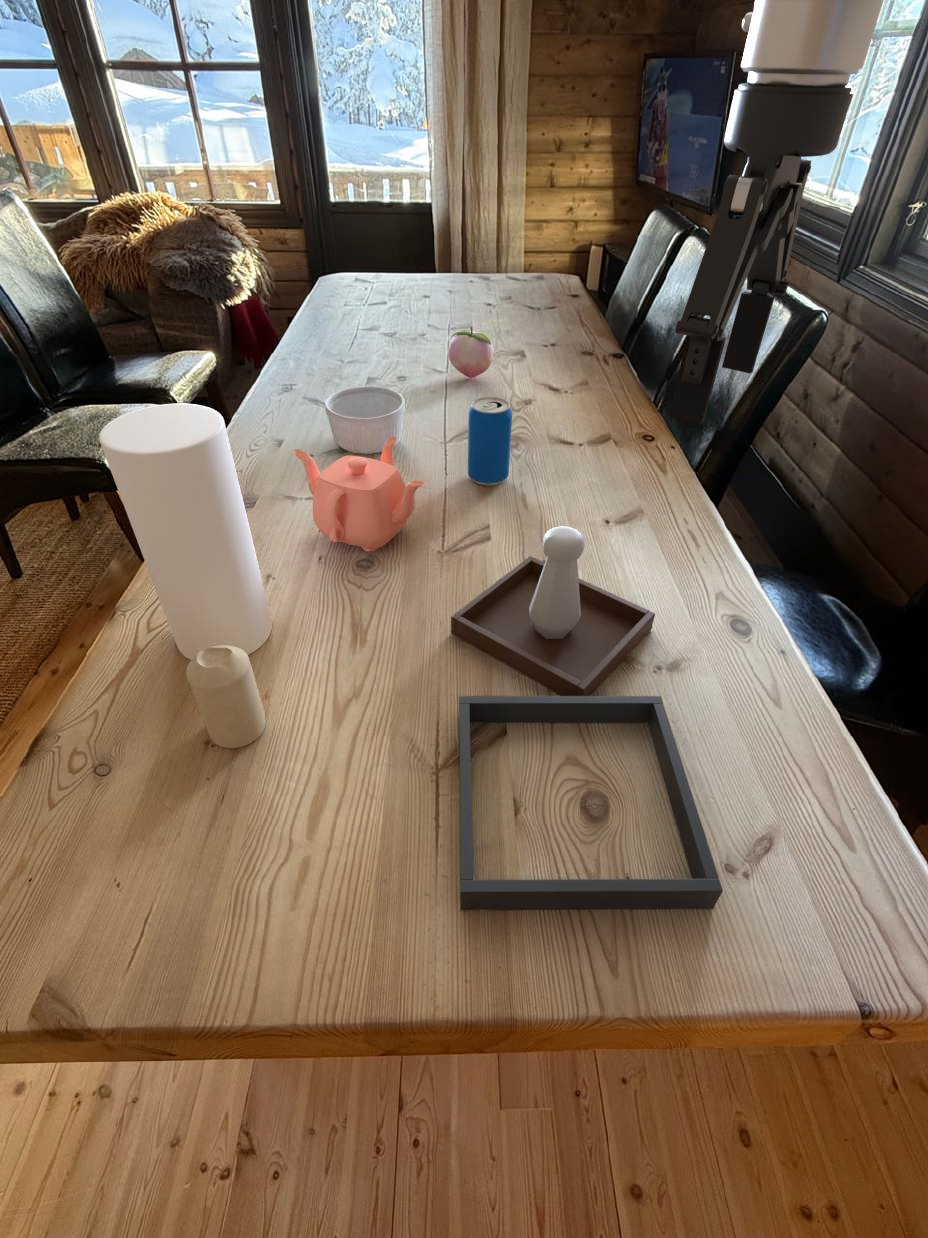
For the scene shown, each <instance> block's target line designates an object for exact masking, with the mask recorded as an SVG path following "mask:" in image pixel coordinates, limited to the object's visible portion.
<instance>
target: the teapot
mask: <svg viewBox="0 0 928 1238" xmlns="http://www.w3.org/2000/svg"><path fill="white" fill-rule="evenodd" d="M395 443H396V437H391V438H390V439H388V440H387V442H386V443H385V445H384V448H383V451H382V452H381V455H380V458H379V460H378V459H375V458H372V457H371V458H370V457H365V456H359V455H343V456H341V457H340V458H339V459H338V458H337V460H334V462H332V463H331V464H330V465H329V466H327V467H326V468H325V469H323V471H321V472H320V470H319V468H318V466H317V464H316V462H315V460H314V458H312V456H311V455H310V454H309V453H307V452H305V451H303V450H301V449H300V450H299V449H293V451H292V452H293V454H294V455H295V456H296V457H297V458H298V459H299V460H300V461H301V463H302V464H303V467H304V469H305V473H306V479H307V484H308V488H309V491H310V493H311V495H312V496H313V497H312V518H313V522H314V525H315V526H316V527H317V529H318V531H320V533H322V535H325V536H326V537H329V538H328V539H329V540H330V541H331V542H333V543H340V542H341V543H342V544H343V543H344V544H347V545H351V546H354V547H355V546H356V547H362V550H363V551H365V552H375V551H377V550H378V549H379V548H381V547H383V546H385V545H386V544H387V543H389V542H390V541H391V540H392V539H393V538H394V537H396V536H397V534H398V533H399V532H400V531H401V530H402V529H403V528H404V526H405V525H406V524H407V523H408V520H409V519H410V517H411V515H412V514H413V512H414V508H415V495H416V491H417V490H418V488H420V487H422V486H424V485H426V482H425V481H423V480H413V481H410V482H408V483H407V484H405V481H404V479H403V477H402V475H401V473H400V471H399V468H398V467H396V466H395V464H394V463H395V462H394V449H395V446H396V445H395ZM394 445H395V446H394Z"/></svg>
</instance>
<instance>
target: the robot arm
mask: <svg viewBox="0 0 928 1238" xmlns="http://www.w3.org/2000/svg"><path fill="white" fill-rule="evenodd" d="M884 1H885V0H754V5H753V11H750V12H747V13H746V14H745V15H744V17H743V19H742V22H741V29H742V31H743V32H746V33H748V34H747V38H746V40H745V45H744V50H743V54H742V55H743V56H742V59H741V63H740V68H741V70H742V71H743V73H748V74H747V80H746V82H745V83H743V82H742V83H739V84H738V88H735V89H734V92H733V96H732V101H731V106H730V111H729V116H728V120H727V124H726V129H725V133H724V138H723V143H724V144H723V145H724V146H725V148H726V149H727V150H729V151H731V152H736V153H745V154H746V155H747V160H746V161H747V162H746V164H745V166H744V169H743V172H742V175H739V174H738V175H737V174H729V175H728V176H727V178H726V180H725V181H724V184H723V191H722V194H721V198H720V202H719V206H718V210H717V214H716V216H715V220H714V223H713V226H712V229H711V232H710V235H709V237H708V240H707V243H706V246H705V249H704V252H703V255H702V257H701V261H700V264H699V266H698V268H697V272H696V276H695V278H694V280H693V283H692V286H691V288H690V289H691V290H690V292H689V296H688V299H687V302H686V305H685V307H684V310H683V313H682V316H681V319H680V320H677V322H676V326H675V334H677V335H678V334H679V335H682V336H686V338H685V342H684V347H683V350H682V356H681V360H680V365H679V369H678V373H677V378H676V382H675V387H674V391H673V395H672V400H671V403H670V410H669V413H668V417H671V418H675V419H679V420H682V421H686V422H689V423H693V424H696V425H702V424H703V423H704V422H705V419H706V415H707V412H708V408H709V405H710V400H711V397H712V393H713V389H714V385H715V382H716V378H717V374H718V370H719V367H720V362H721V359H722V355H723V351H724V347H725V343H726V339H727V338H726V337H723V336H724V333H725V330H726V327H727V325H728V322H729V320H730V317H731V315H732V313H733V311H734V308H735V306H736V303H737V301H738V299H739V301H738V305H737V309H736V312H735V316H734V320H733V323H732V327H731V330H730V334H729V339H728V344H727V346H726V350H725V354H724V358H723V360H722V365H721V368H723V369H728V370H732V371H737V372H741V373H746V374H752V373H753V371H754V368H755V365H756V361H757V359H758V356H759V352H760V349H761V345H762V342H763V338H764V335H765V332H766V328H767V326H768V325H767V324H768V322H769V318H770V314H771V311H772V308H773V304H774V302H775V299H776V296H774V295H779V296H785V295H786V293H787V290H788V287H789V285H790V282H789V281H785V279H786V278H787V276H788V273H789V271H788V268H789V266H790V265H789V264H790V259H791V254H792V250H793V244H794V239H795V235H796V230H797V225H798V219H799V215H800V210H801V205H802V200H803V195H804V191H805V187H806V183H807V181H808V177H809V174H810V172H811V170H812V160H811V159H805V158H807V157H808V158H811V157H823V156H826V155H829V154H832V152H834V151H835V150H836V148H837V147H838V145H839V142H840V139H841V136H842V132H843V129H844V126H845V122H846V120H847V117H848V114H849V111H850V106H851V103H852V100H853V97H854V95H855V92H852V90H853V87H852V86H850V85H849V82H850V77H851V75H857V74H858V73H860V72H861V71H862V70H863V69H864V65H865V62H866V59H867V56H868V52H869V49H870V45H871V43H872V39H873V36H874V33H875V29H876V26H877V23H878V20H879V17H880V13H881V10H882V7H883V4H884ZM745 282H746V290H748V291H743V292H742V290H743V287H744V285H745ZM749 291H750V292H749ZM771 294H773V295H771ZM739 296H740V298H739ZM705 316H707V317H709V318H707V317H705Z"/></svg>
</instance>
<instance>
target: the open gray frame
mask: <svg viewBox="0 0 928 1238" xmlns="http://www.w3.org/2000/svg"><path fill="white" fill-rule="evenodd" d="M471 724H647V726H648V730H649V733H650V737H651V741H652V743H653V747H654V751H655V754H656V757H657V758H656V759H657V761H658V765H659V768H660V771H661V775H662V779H663V782H664V786H665V789H666V793H667V796H668V799H669V803H670V807H671V809H672V814H673V818H674V820H675V824H676V827H677V830H678V831H677V832H678V835H679V838H680V841H681V845H682V848H683V852H684V856H685V858H686V862H687V866H688V869H689V872H690V876H691V878H603V879H602V878H593V879H592V878H589V879H588V878H585V879H584V878H583V879H582V878H581V879H579V878H578V879H577V878H575V879H571V878H568V879H563V878H562V879H561V878H560V879H559V878H557V879H554V878H553V879H552V878H551V879H546V878H545V879H474V844H473V843H474V841H473V840H474V839H473V837H474V836H473V797H472V796H473V795H472V794H473V793H472V791H473V790H472V757H471V756H472V755H471V753H472V751H471V748H472V747H471ZM458 755H459V756H458V762H459V764H458V765H459V767H458V768H459V769H458V770H459V771H458V772H459V773H458V775H459V777H458V778H459V780H458V781H459V782H458V783H459V911H557V910H558V911H567V910H568V911H577V910H578V911H581V910H582V911H587V910H590V911H595V910H596V911H599V910H600V911H603V910H606V911H607V910H614V911H615V910H618V911H619V910H621V911H622V910H714V909H715V906H716V904H717V903H718V901H719V899H720V897H721V895H722V894H723V892H724V889H723V887H722V884H721V881H720V877H719V874H718V871H717V868H716V864H715V862H714V859H713V856H712V852H711V849H710V846H709V843H708V839H707V836H706V833H705V831H704V827H703V823H702V820H701V818H700V814H699V811H698V808H697V805H696V802H695V799H694V796H693V793H692V790H691V786H690V783H689V780H688V777H687V774H686V771H685V768H684V764H683V762H682V759H681V755H680V752H679V749H678V745H677V742H676V739H675V736H674V733H673V730H672V727H671V723H670V721H669V717H668V715H667V711H666V708H665V705H664V701H663V699H662V696H661V695H591V696H561V695H459V696H458Z"/></svg>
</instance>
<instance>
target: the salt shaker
mask: <svg viewBox="0 0 928 1238" xmlns="http://www.w3.org/2000/svg"><path fill="white" fill-rule="evenodd" d="M585 545H586V544H585V538H584V535H583V534H582V533H581V532H580V531H578V529H576V528H573V527H571V526H566V525H564V526H563V525H561V526H555V527H552V528H551V529H548V530H547V531H546V532H545V534H544V536H543V539H542V551H543V555H545V556H546V557H545V558H546V559H545V561H544V562H545V565H544V567H543V570H542V573H541V576H540V579H539V581H538V584H537V587H536V590H535V593H534V596H533V598H532V601H531V604H530V607H529V612H530V619H531V621H532V624H533V626H534V629H535V631H537V632H538V633H539V634H541V635H542V636H543V637H545V638H546V639H563V638H564V637H565V636H566V635H567V634H568V633H569V632H570V631H571V630H572V629H573V628H574V627H575V626H576V624H577V622H578V620H579V618H580V616H581V611H580V596H579V580H578V578H579V568H578V567H579V566H578V565H579V564H578V560H579V559H580V558H581V557H582V554H583V553H584V550H585Z"/></svg>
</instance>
